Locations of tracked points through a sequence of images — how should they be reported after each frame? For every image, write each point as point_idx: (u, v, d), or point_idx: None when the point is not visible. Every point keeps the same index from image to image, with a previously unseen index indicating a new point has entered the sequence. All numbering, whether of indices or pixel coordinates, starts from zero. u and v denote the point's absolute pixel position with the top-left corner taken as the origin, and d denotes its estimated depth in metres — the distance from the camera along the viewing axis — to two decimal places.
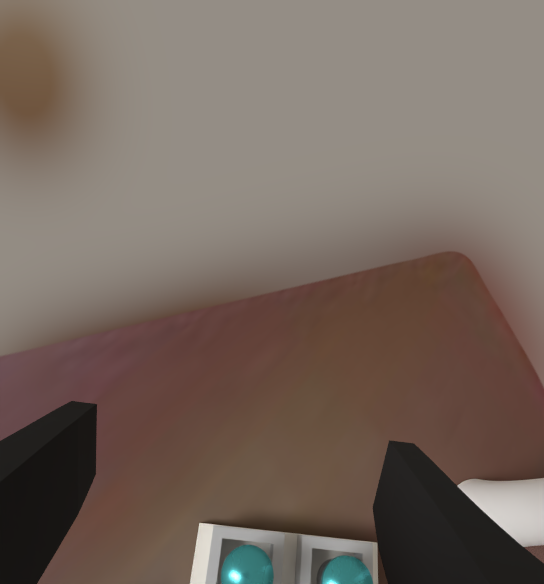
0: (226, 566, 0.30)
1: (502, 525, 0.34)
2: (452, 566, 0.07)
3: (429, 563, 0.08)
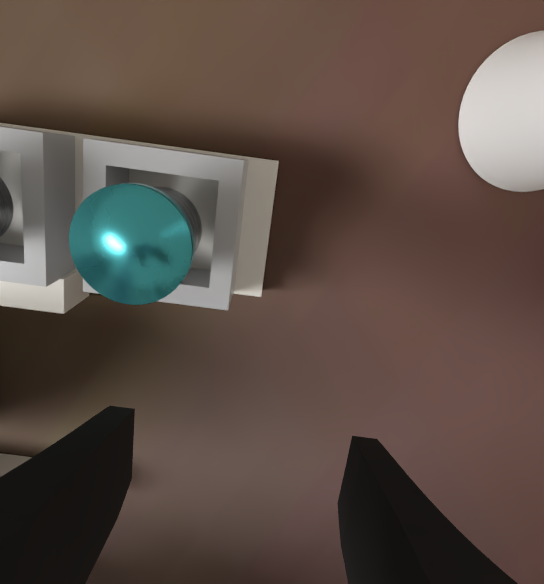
0: None
1: None
2: (398, 560, 0.07)
3: (380, 558, 0.08)
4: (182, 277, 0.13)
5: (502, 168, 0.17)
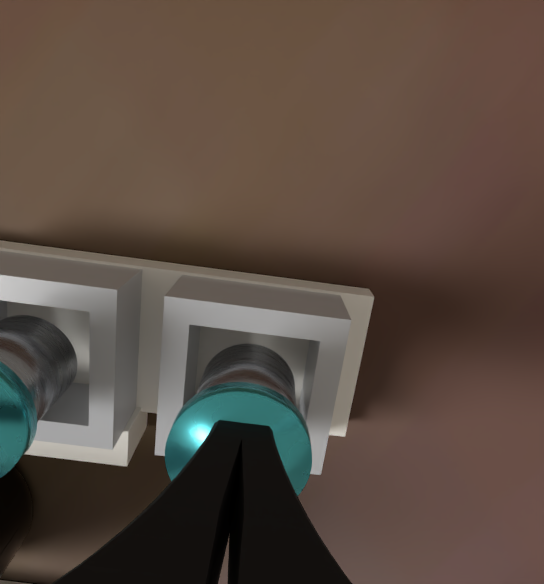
0: None
1: None
2: (240, 541, 0.07)
3: (237, 541, 0.08)
4: (298, 491, 0.11)
5: None
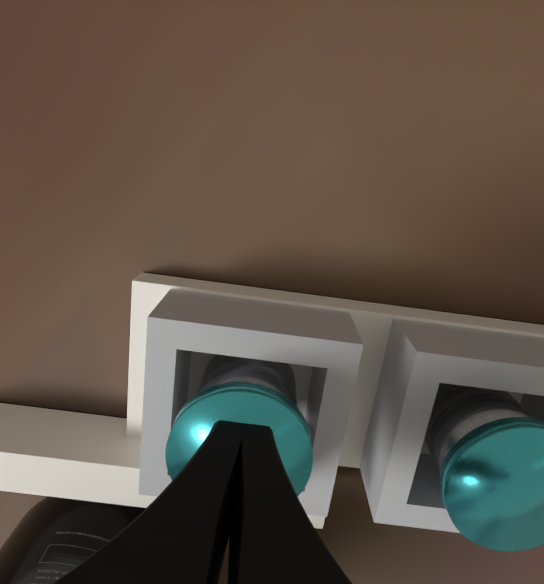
0: (179, 438, 0.11)
1: None
2: (240, 541, 0.07)
3: (236, 541, 0.08)
4: None
5: None
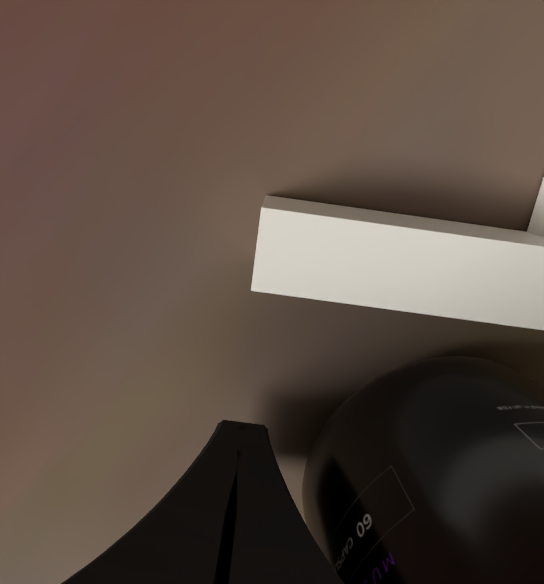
0: None
1: None
2: (232, 540, 0.07)
3: (230, 540, 0.08)
4: None
5: None
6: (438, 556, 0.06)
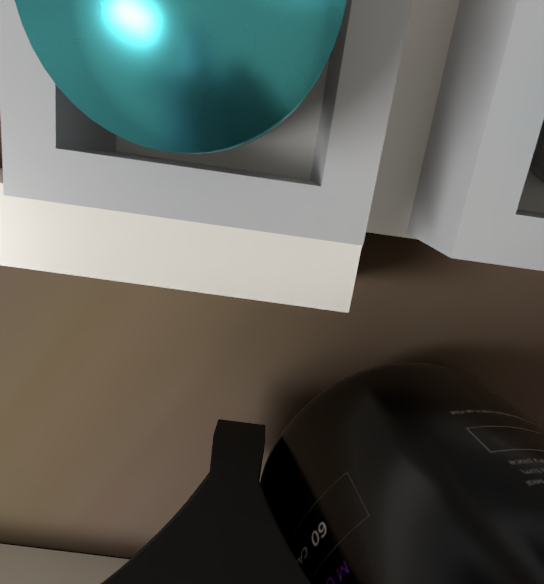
0: None
1: None
2: None
3: None
4: None
5: None
6: (392, 562, 0.06)
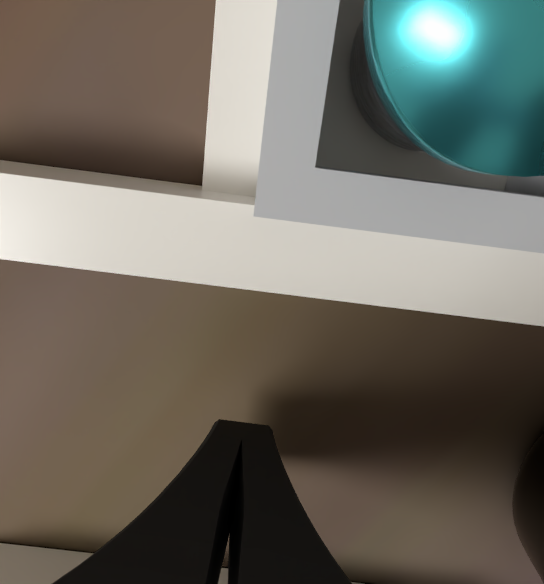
0: None
1: None
2: (240, 541, 0.07)
3: (236, 541, 0.08)
4: None
5: None
6: None
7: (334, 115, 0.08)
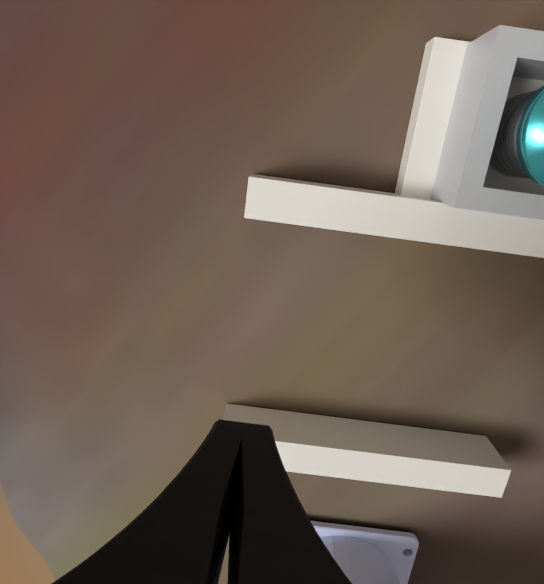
0: (542, 110, 0.13)
1: None
2: (239, 541, 0.07)
3: (237, 541, 0.08)
4: None
5: None
6: None
7: None
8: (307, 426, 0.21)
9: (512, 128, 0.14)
